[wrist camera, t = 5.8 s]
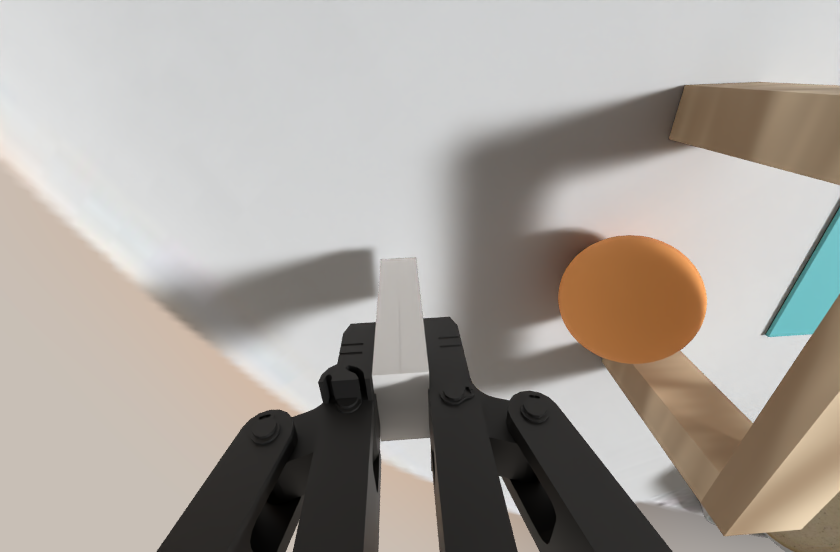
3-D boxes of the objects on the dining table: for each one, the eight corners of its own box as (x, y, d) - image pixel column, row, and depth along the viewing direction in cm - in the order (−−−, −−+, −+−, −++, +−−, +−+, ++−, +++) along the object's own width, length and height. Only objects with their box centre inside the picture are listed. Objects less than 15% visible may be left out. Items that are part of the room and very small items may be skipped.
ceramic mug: (804, 420, 26) (943, 545, 19) (846, 459, 29) (979, 578, 22) (672, 489, 30) (749, 611, 23) (720, 516, 33) (801, 632, 26)
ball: (693, 226, 16) (566, 213, 17) (767, 278, 11) (584, 255, 13) (653, 327, 19) (543, 310, 20) (700, 405, 14) (552, 377, 15)
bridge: (601, 361, 21) (724, 536, 13) (684, 85, 14) (1063, 110, 6) (650, 358, 21) (801, 529, 14) (759, 81, 14) (1225, 103, 6)
